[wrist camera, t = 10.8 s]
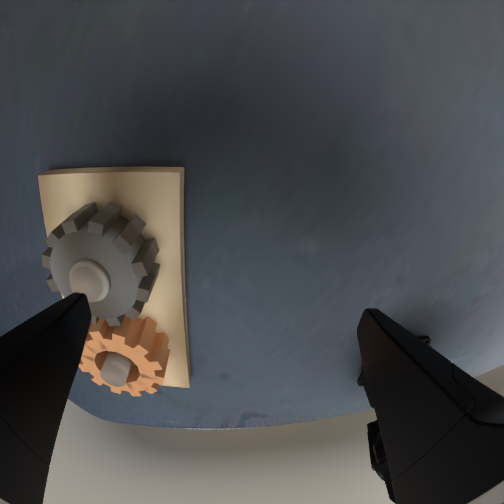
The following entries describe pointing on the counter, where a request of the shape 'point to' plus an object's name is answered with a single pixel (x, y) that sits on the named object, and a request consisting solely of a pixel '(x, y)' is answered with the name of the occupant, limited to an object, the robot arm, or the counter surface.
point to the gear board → (163, 223)
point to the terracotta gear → (128, 353)
